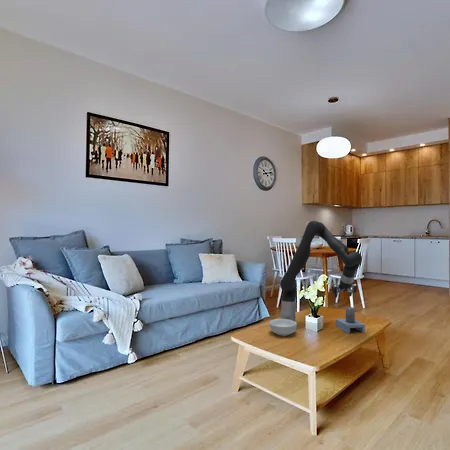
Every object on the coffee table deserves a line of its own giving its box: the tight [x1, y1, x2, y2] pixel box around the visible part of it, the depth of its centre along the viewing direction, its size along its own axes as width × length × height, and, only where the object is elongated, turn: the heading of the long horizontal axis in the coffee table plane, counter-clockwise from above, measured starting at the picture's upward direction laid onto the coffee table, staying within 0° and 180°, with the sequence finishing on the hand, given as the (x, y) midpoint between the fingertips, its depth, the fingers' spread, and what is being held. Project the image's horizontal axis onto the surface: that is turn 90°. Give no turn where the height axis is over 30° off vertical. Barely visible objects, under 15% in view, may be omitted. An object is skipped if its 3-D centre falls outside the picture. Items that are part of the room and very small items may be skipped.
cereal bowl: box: [269, 318, 298, 337], centre depth 193 cm, size 17×17×7 cm
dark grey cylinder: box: [345, 306, 356, 323], centre depth 200 cm, size 6×6×9 cm
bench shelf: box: [335, 318, 366, 334], centre depth 200 cm, size 12×14×5 cm
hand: (342, 296), depth 196 cm, fingers open, 8 cm apart
